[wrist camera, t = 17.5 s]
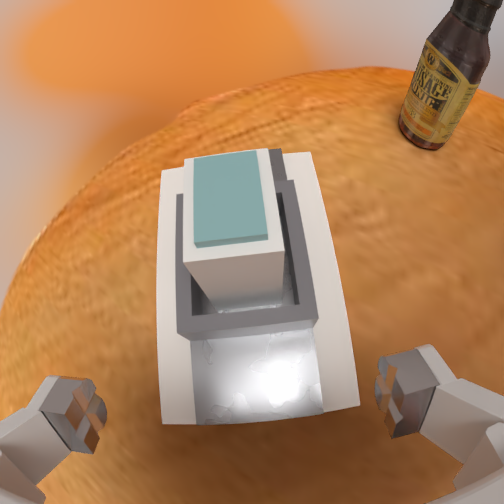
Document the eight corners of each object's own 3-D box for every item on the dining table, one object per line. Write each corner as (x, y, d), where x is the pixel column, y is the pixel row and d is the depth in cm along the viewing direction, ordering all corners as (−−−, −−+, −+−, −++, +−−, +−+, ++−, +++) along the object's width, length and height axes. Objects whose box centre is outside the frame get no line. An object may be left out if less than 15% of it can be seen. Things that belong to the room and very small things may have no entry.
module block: (271, 227, 25) (267, 140, 16) (281, 303, 22) (284, 244, 13) (213, 234, 25) (181, 152, 16) (217, 310, 22) (179, 256, 14)
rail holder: (309, 158, 29) (313, 120, 25) (356, 404, 20) (377, 408, 16) (164, 176, 30) (148, 142, 25) (166, 422, 21) (140, 429, 16)
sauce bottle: (387, 116, 32) (426, -42, 14) (427, 112, 32) (474, -27, 14) (415, 158, 29) (481, -11, 11) (456, 152, 29) (525, 7, 11)
